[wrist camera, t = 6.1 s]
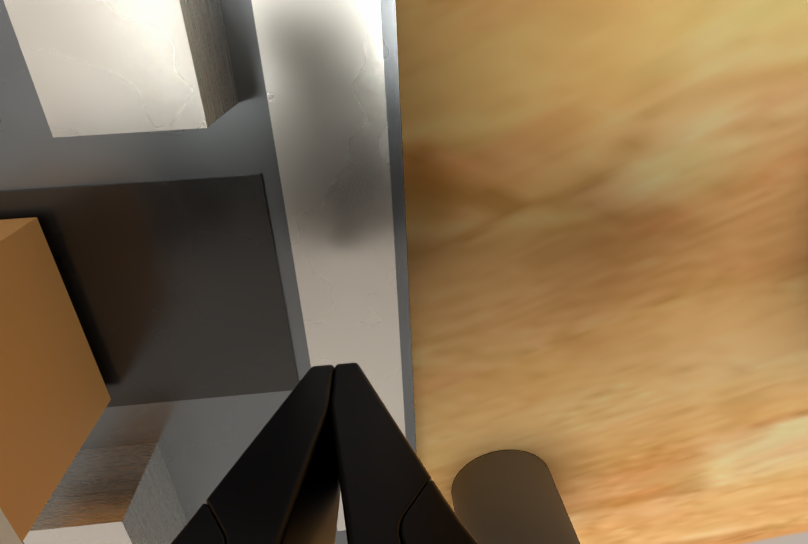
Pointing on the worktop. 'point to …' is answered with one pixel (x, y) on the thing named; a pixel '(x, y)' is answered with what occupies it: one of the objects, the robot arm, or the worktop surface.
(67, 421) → the block
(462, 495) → the post
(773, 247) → the worktop surface
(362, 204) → the breaker panel
